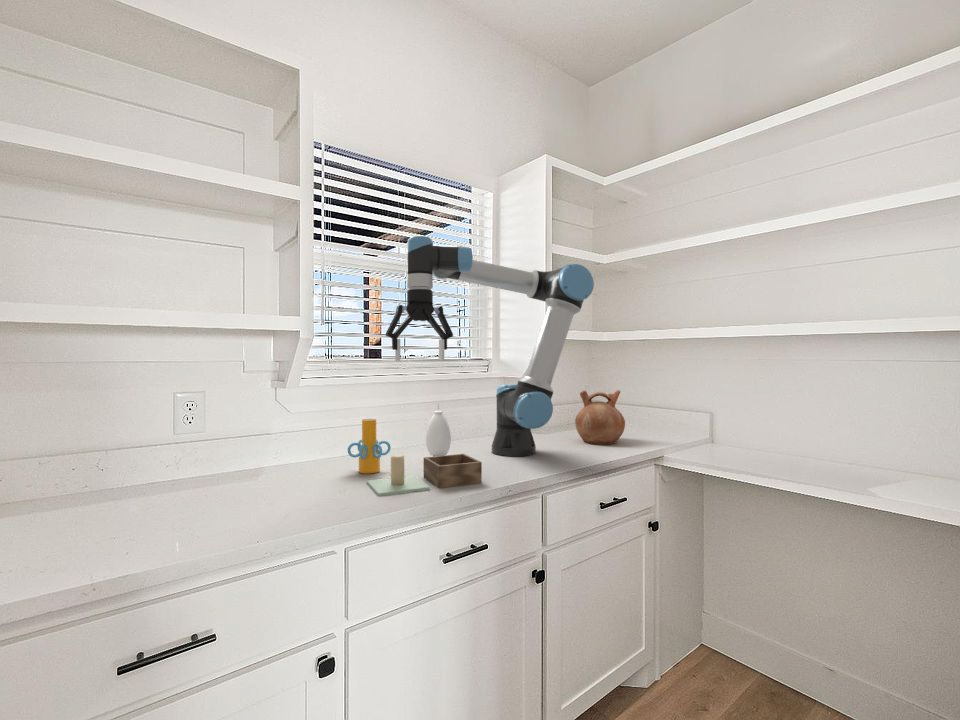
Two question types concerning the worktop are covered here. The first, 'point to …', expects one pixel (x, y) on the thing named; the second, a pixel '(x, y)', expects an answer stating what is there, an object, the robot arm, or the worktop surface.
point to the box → (452, 470)
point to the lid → (397, 480)
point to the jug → (600, 419)
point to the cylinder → (369, 448)
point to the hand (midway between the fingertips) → (420, 361)
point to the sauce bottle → (438, 435)
